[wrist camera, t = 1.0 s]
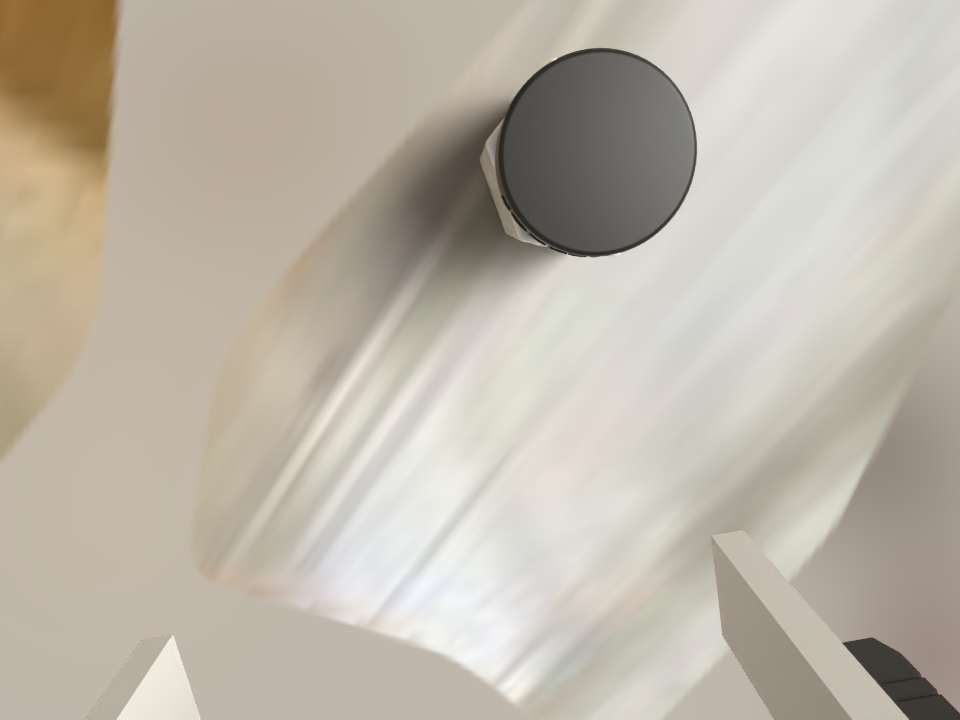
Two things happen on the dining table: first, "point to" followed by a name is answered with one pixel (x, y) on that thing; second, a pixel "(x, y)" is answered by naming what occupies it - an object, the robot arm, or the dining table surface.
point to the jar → (592, 154)
